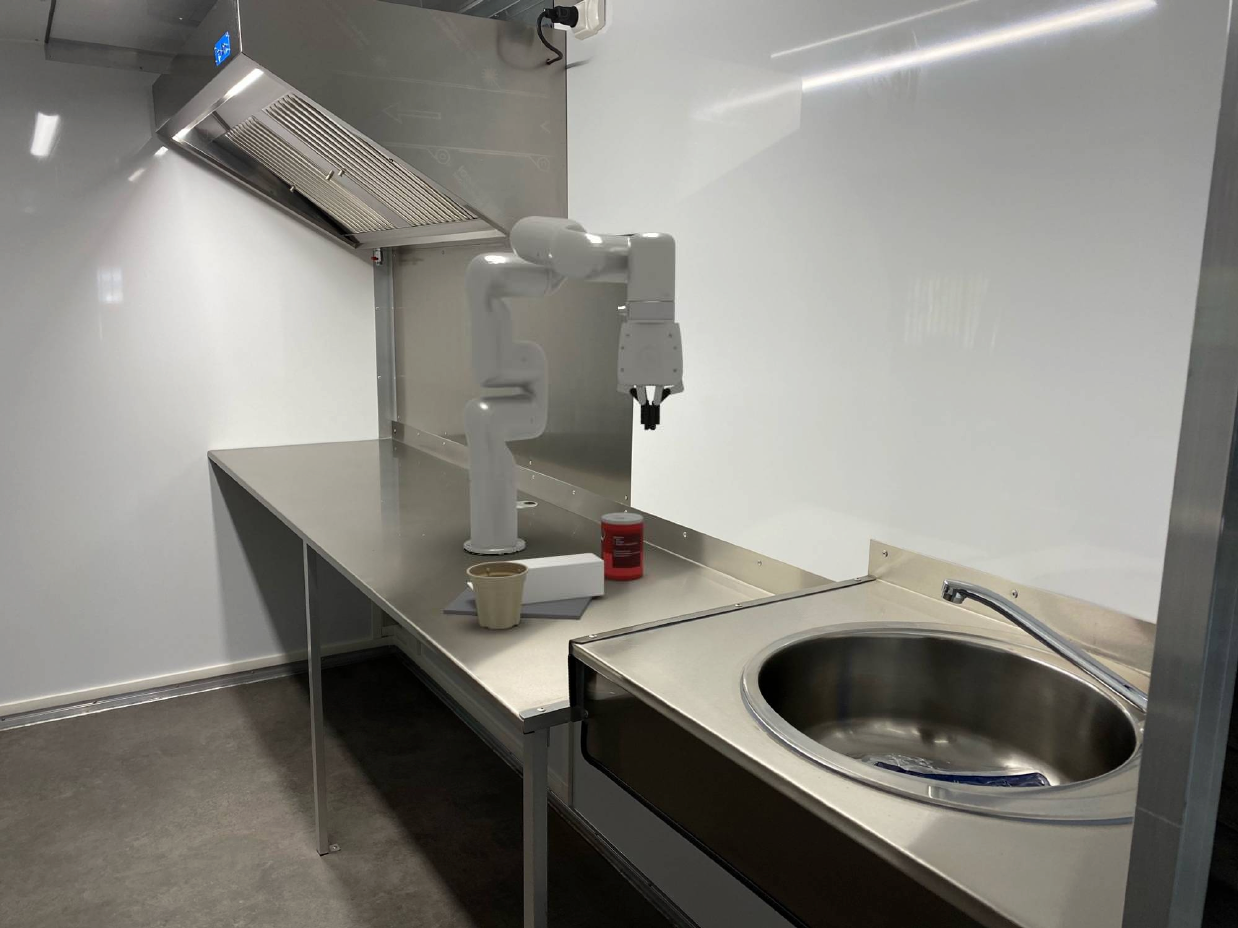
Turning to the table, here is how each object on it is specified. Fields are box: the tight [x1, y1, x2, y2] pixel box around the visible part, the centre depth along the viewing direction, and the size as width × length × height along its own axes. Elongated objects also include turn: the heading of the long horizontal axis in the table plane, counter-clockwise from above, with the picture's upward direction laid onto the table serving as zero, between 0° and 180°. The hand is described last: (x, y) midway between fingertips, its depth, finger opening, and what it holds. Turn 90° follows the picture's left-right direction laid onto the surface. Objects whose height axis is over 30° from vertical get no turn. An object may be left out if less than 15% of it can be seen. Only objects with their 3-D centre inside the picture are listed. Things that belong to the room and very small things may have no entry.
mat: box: [443, 585, 594, 620], centre depth 156 cm, size 20×22×1 cm
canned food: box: [600, 512, 645, 581], centre depth 170 cm, size 8×8×11 cm
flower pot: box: [466, 561, 529, 630], centre depth 142 cm, size 9×9×9 cm
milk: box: [466, 552, 605, 605], centre depth 154 cm, size 6×6×22 cm
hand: (650, 429), depth 149 cm, fingers closed
